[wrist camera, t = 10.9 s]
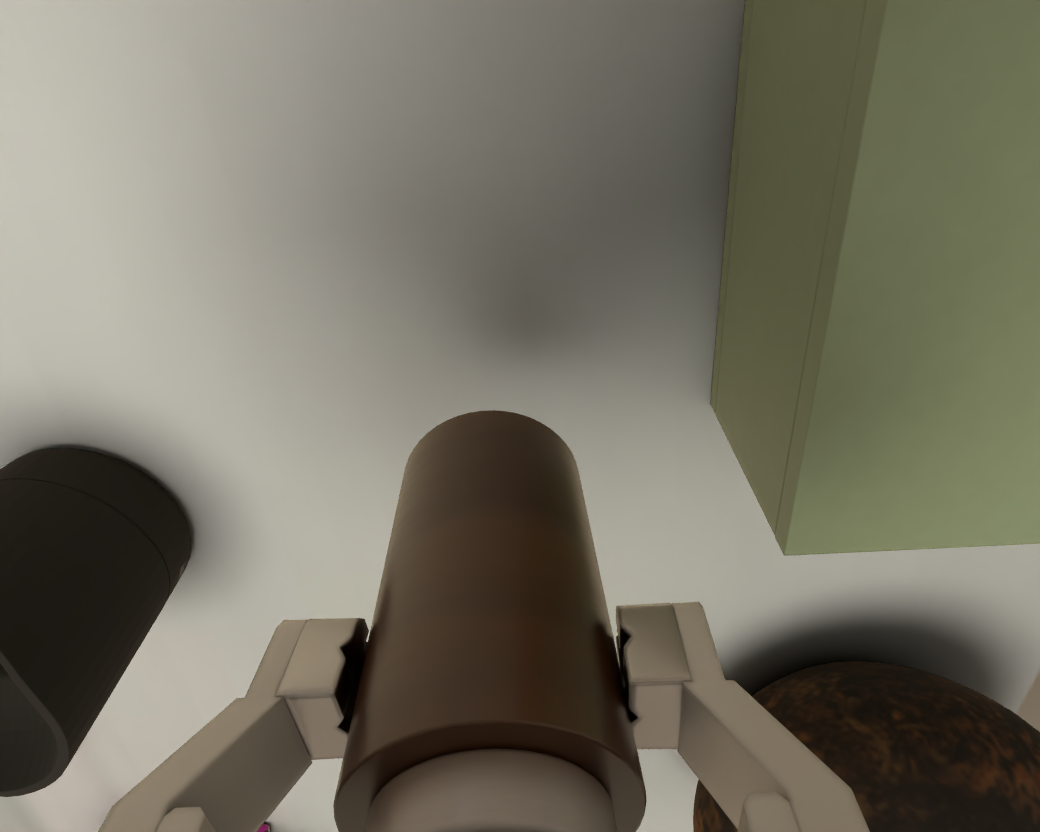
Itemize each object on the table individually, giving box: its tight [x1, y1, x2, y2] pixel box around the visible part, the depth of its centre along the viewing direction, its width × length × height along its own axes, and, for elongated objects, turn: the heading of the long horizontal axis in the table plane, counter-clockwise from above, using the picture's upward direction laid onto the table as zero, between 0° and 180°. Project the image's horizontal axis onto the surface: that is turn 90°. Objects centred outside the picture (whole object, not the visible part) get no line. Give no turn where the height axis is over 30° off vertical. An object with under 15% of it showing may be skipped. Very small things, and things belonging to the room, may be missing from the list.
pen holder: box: [0, 449, 191, 797], centre depth 24 cm, size 9×9×10 cm
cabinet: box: [710, 0, 1040, 556], centre depth 17 cm, size 14×15×9 cm
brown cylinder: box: [334, 410, 646, 832], centre depth 12 cm, size 5×5×9 cm
